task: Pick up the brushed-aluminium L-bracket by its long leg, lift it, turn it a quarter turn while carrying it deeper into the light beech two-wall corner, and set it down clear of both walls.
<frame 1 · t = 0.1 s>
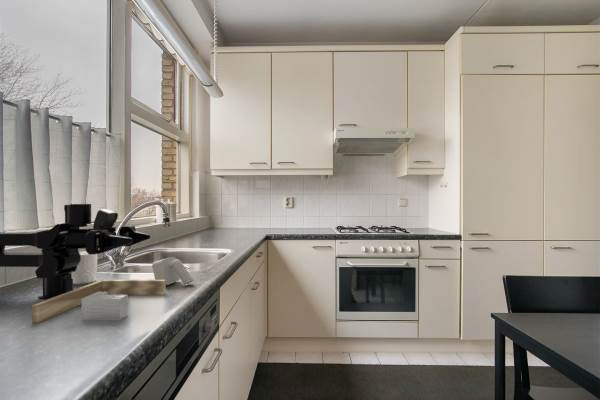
hand: (141, 238, 90), 17 cm above the counter, tool horizontal, fingers open, 9 cm apart
bracket: (107, 318, 73), on the counter
wall hook: (176, 285, 102), on the counter
white cup: (84, 282, 107), on the counter
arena: (109, 305, 82), on the counter
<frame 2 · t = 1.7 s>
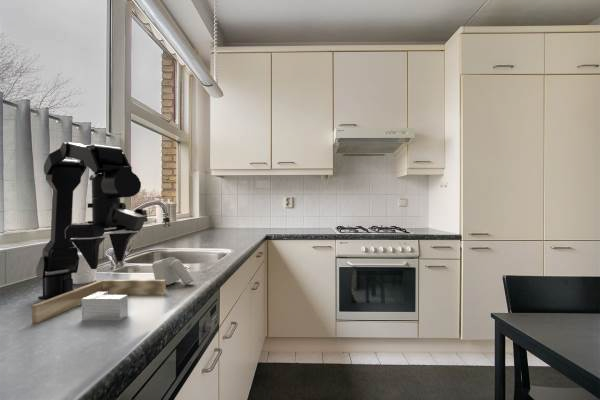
hand: (107, 265, 73), 12 cm above the counter, tool pointing down, fingers open, 9 cm apart
nothing on the counter moved.
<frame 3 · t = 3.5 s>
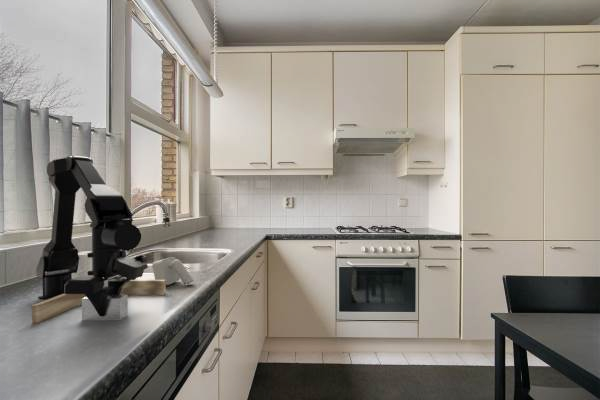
hand: (107, 313, 73), 1 cm above the counter, tool pointing down, fingers closed on bracket, 3 cm apart
bracket: (107, 317, 73), on the counter, touching gripper
everything else where it was.
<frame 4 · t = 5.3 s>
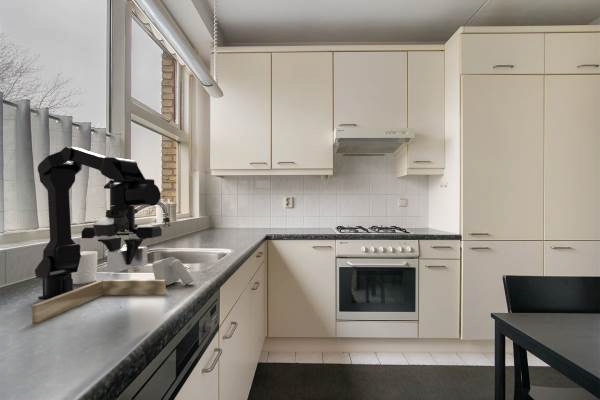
hand: (122, 264, 83), 11 cm above the counter, tool pointing down, fingers closed on bracket, 3 cm apart
bracket: (122, 268, 82), point 10 cm above the counter, touching gripper
everything else where it was.
when the fingers open (2 cm above the counter, at t = 6.9 s): bracket drops 1 cm, on the counter.
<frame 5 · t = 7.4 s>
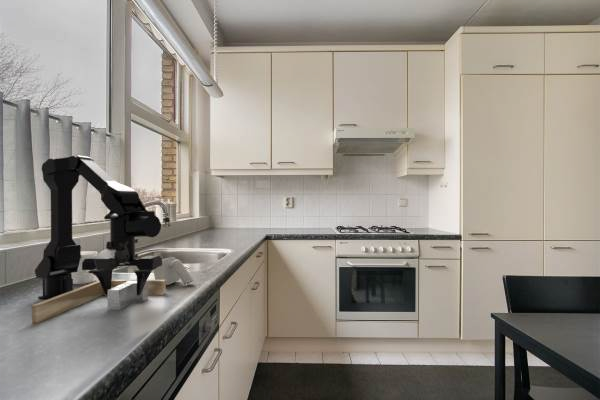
hand: (123, 295, 83), 2 cm above the counter, tool pointing down, fingers open, 8 cm apart
bracket: (123, 304, 82), on the counter
everything else where it was.
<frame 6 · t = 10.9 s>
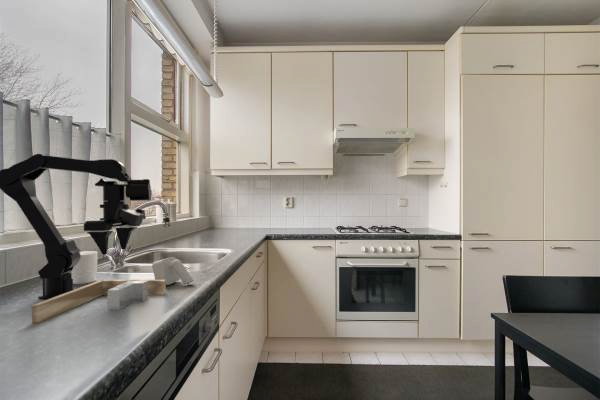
hand: (114, 251, 95), 12 cm above the counter, tool pointing down, fingers open, 9 cm apart
nothing on the counter moved.
at the end: bracket inside the target area (0.4 cm from its centre), on the counter; bracket touching counter; bracket tilted 0° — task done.
